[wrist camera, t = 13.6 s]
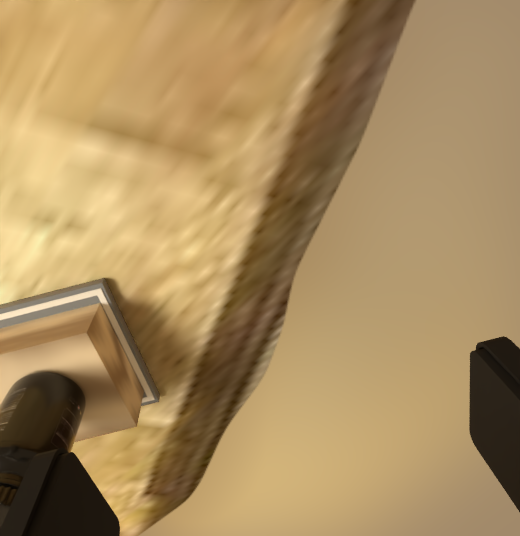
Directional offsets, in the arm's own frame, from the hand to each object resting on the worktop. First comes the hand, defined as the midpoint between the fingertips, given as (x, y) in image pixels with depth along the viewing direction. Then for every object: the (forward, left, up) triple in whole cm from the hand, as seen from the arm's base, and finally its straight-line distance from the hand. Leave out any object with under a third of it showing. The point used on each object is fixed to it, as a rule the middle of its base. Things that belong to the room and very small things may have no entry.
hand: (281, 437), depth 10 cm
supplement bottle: (+16, -22, -24) cm, 37 cm away
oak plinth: (+16, -22, -29) cm, 40 cm away
